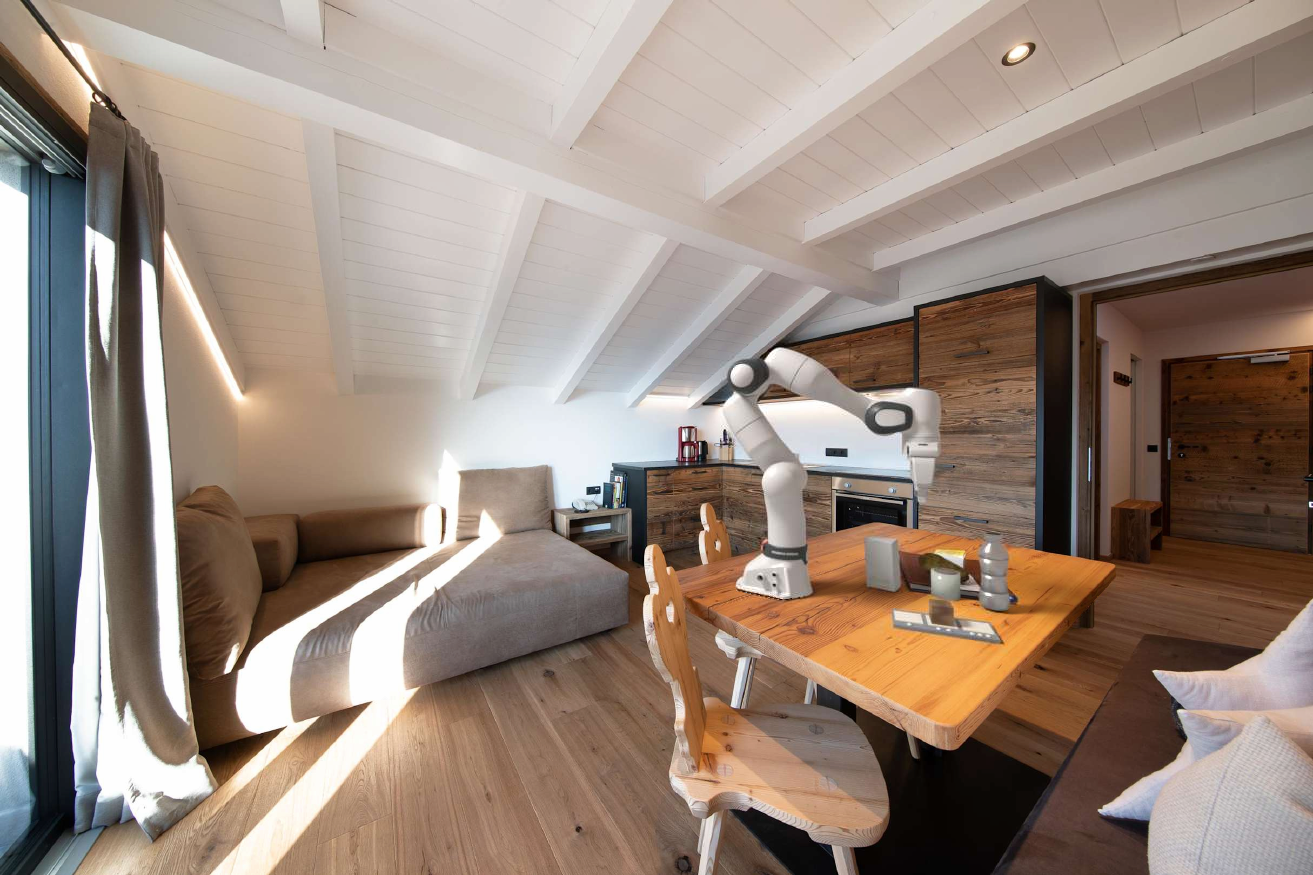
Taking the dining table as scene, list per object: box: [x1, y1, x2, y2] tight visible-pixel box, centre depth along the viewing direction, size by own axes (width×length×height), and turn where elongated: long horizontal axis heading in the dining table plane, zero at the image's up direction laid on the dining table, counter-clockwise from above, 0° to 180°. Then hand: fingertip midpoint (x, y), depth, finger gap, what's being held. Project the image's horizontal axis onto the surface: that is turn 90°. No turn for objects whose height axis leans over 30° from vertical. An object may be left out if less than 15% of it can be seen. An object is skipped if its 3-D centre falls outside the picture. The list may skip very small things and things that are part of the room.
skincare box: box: [863, 535, 902, 593], centre depth 133 cm, size 8×6×15 cm
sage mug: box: [930, 568, 961, 602], centre depth 125 cm, size 7×7×7 cm
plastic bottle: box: [977, 531, 1011, 612], centre depth 115 cm, size 6×7×20 cm
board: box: [891, 608, 1002, 645], centre depth 106 cm, size 21×10×1 cm, turn 64°
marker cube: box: [928, 598, 955, 627], centre depth 107 cm, size 4×4×4 cm
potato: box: [917, 552, 970, 584], centre depth 138 cm, size 8×13×8 cm, turn 33°
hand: (919, 499), depth 117 cm, fingers open, 8 cm apart
